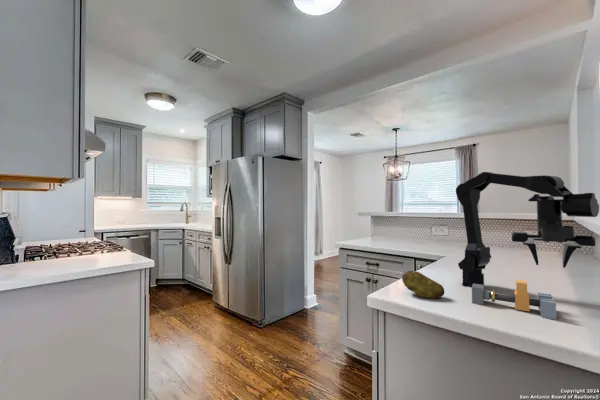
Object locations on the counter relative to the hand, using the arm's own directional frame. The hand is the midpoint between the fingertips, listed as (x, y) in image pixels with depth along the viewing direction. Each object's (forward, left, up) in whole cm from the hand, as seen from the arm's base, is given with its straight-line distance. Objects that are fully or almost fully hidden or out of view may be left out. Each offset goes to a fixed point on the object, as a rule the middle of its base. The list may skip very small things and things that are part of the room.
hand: (550, 266), depth 85 cm
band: (-14, -9, -12) cm, 21 cm away
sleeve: (-7, -9, -12) cm, 17 cm away
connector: (-18, -9, -12) cm, 24 cm away
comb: (-2, -9, -12) cm, 15 cm away
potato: (-34, -13, -12) cm, 39 cm away
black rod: (-10, -9, -11) cm, 17 cm away
